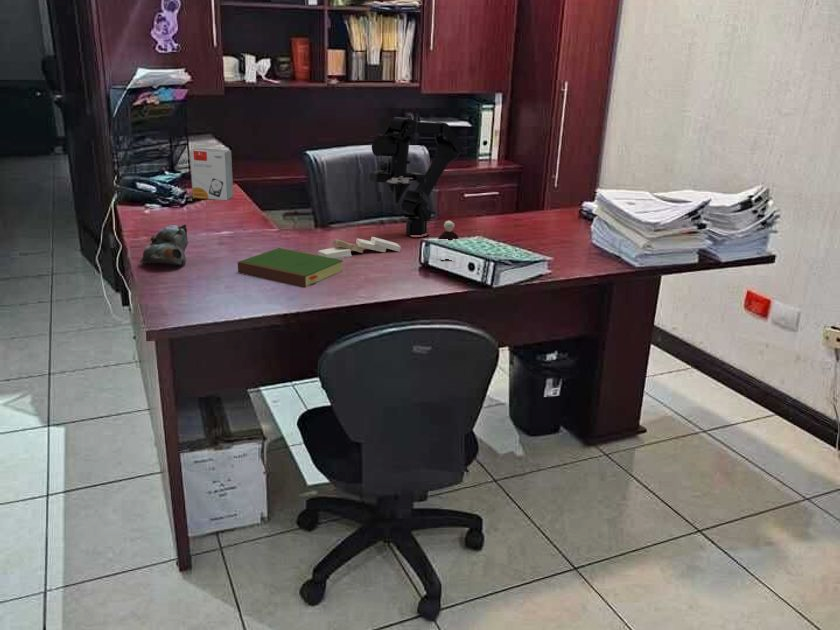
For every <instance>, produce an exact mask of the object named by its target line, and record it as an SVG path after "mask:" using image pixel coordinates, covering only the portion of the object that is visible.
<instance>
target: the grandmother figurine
mask: <svg viewBox="0 0 840 630" xmlns="http://www.w3.org/2000/svg"><path fill="white" fill-rule="evenodd" d="M443 228H444V230H445V231H443V232H442V233H441V234H440V235H439V237H438V238H437V240H438V239H448V240H453V241H454V240H456V239H459V240H460V238H459V237H460V236H459V235H458V234H457V233H456V232H454V231H453V229H454V228H455V223H454V222H453V221H451V220H446V221H445V222H444V224H443Z"/></svg>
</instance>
